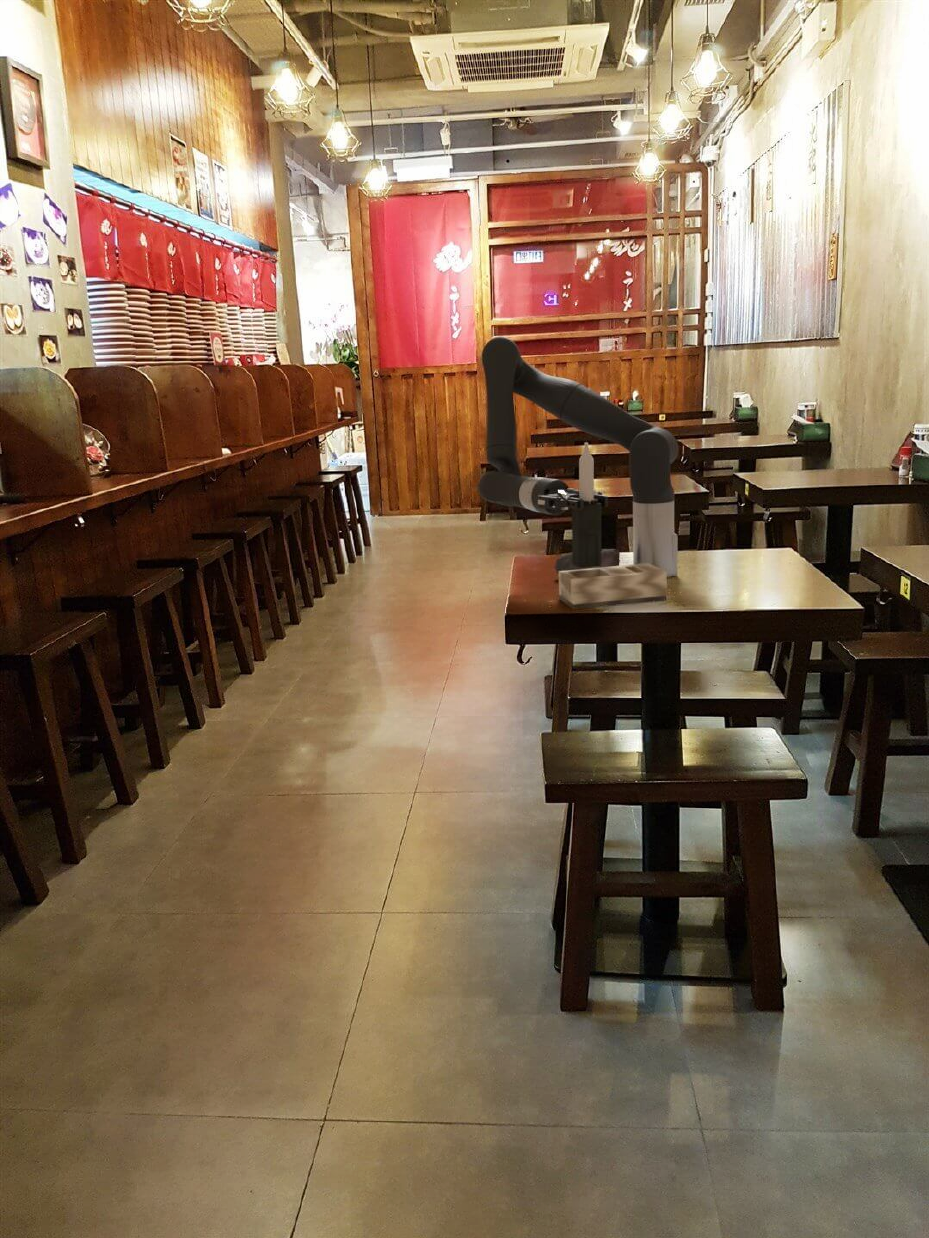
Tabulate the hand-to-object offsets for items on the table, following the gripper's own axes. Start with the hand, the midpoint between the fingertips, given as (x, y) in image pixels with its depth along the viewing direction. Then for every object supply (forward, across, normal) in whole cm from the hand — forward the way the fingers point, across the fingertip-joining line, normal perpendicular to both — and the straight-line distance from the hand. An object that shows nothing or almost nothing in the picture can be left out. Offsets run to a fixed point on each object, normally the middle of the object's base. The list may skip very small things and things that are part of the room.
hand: (594, 503), depth 194 cm
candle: (-2, 0, +13) cm, 13 cm away
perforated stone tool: (-20, +14, +21) cm, 33 cm away
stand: (0, +5, +21) cm, 21 cm away
